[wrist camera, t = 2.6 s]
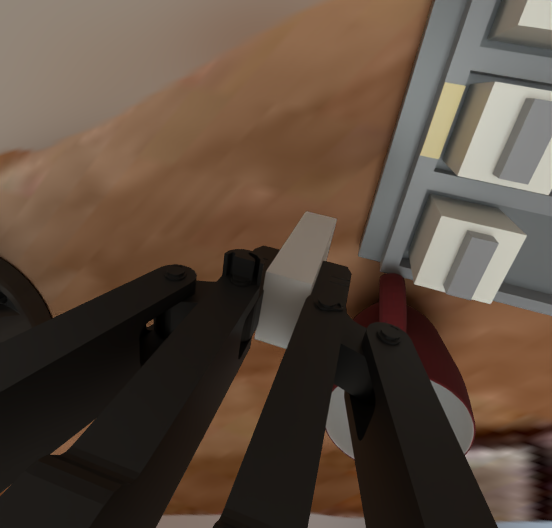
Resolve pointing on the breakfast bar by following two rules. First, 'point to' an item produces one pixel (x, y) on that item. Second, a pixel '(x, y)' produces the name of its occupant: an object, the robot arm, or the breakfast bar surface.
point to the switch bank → (435, 138)
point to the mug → (431, 356)
